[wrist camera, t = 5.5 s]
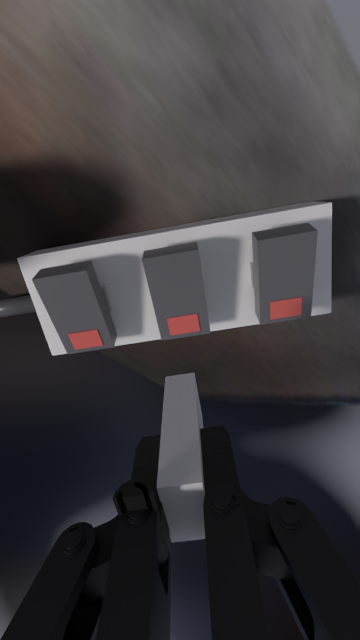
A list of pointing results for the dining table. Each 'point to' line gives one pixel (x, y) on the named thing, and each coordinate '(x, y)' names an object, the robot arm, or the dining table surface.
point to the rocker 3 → (284, 272)
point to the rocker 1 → (76, 306)
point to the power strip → (216, 264)
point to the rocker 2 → (177, 290)
